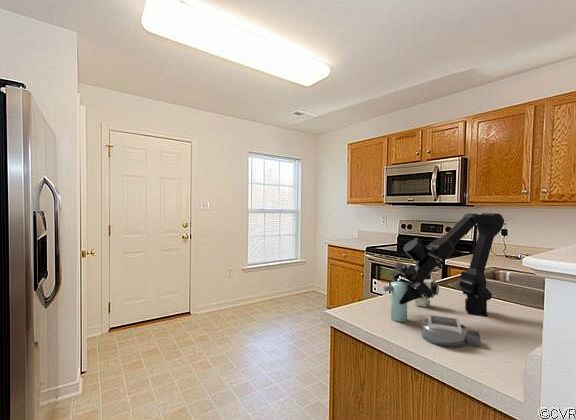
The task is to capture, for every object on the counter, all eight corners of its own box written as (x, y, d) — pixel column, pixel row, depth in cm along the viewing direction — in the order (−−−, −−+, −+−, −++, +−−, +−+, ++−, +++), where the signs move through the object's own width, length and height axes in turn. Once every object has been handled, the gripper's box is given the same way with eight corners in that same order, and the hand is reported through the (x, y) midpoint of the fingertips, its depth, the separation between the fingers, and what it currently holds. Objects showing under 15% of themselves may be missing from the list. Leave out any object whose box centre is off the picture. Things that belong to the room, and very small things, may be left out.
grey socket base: (476, 335, 96) (476, 318, 96) (483, 353, 85) (483, 334, 84) (421, 327, 103) (421, 311, 102) (421, 343, 91) (421, 325, 91)
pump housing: (401, 315, 113) (401, 281, 113) (410, 321, 108) (410, 285, 108) (381, 317, 112) (381, 282, 111) (389, 323, 106) (389, 286, 106)
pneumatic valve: (436, 310, 119) (436, 280, 119) (406, 304, 127) (406, 275, 126) (439, 306, 123) (439, 277, 123) (410, 300, 131) (410, 273, 131)
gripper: (394, 251, 119) (369, 280, 118) (424, 259, 101) (394, 294, 99) (412, 269, 121) (387, 298, 119) (445, 281, 103) (416, 315, 101)
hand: (395, 301), depth 110 cm, fingers closed on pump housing, 6 cm apart
